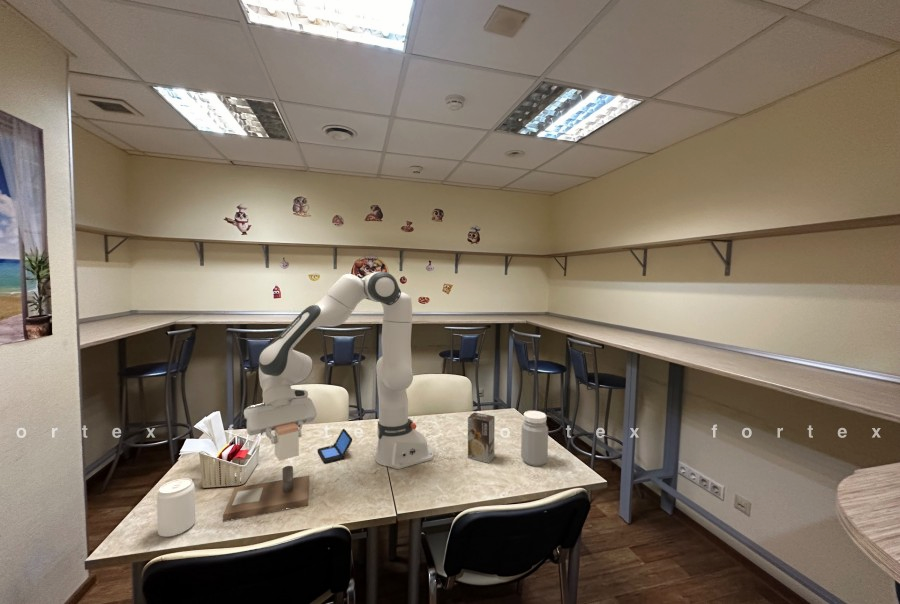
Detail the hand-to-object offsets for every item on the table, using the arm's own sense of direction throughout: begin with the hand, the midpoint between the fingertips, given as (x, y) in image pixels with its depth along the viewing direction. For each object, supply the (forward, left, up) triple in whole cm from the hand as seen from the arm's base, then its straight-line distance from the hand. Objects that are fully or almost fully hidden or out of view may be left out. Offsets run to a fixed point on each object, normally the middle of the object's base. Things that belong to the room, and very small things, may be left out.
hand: (287, 439), depth 109 cm
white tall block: (0, -1, -5) cm, 5 cm away
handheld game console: (-15, -25, -19) cm, 35 cm away
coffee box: (-68, -4, -19) cm, 70 cm away
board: (+5, -1, -18) cm, 19 cm away
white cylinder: (+27, +5, -19) cm, 33 cm away
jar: (-86, +5, -19) cm, 88 cm away
